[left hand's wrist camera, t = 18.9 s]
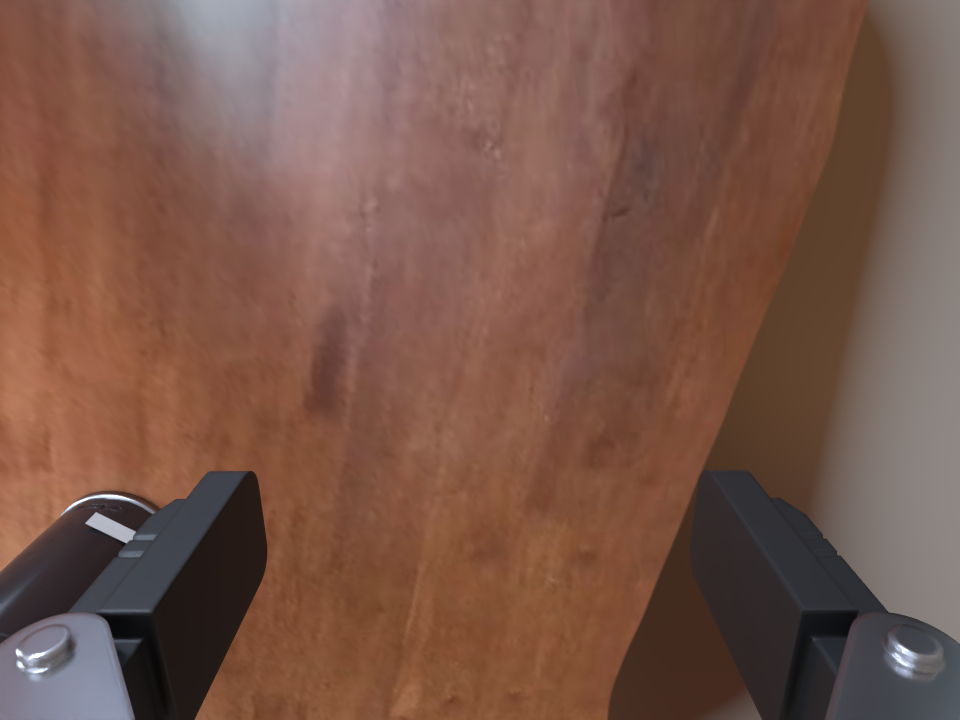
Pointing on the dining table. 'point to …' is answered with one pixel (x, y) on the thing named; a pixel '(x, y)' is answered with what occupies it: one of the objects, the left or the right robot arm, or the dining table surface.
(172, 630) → the left robot arm
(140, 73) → the dining table surface
